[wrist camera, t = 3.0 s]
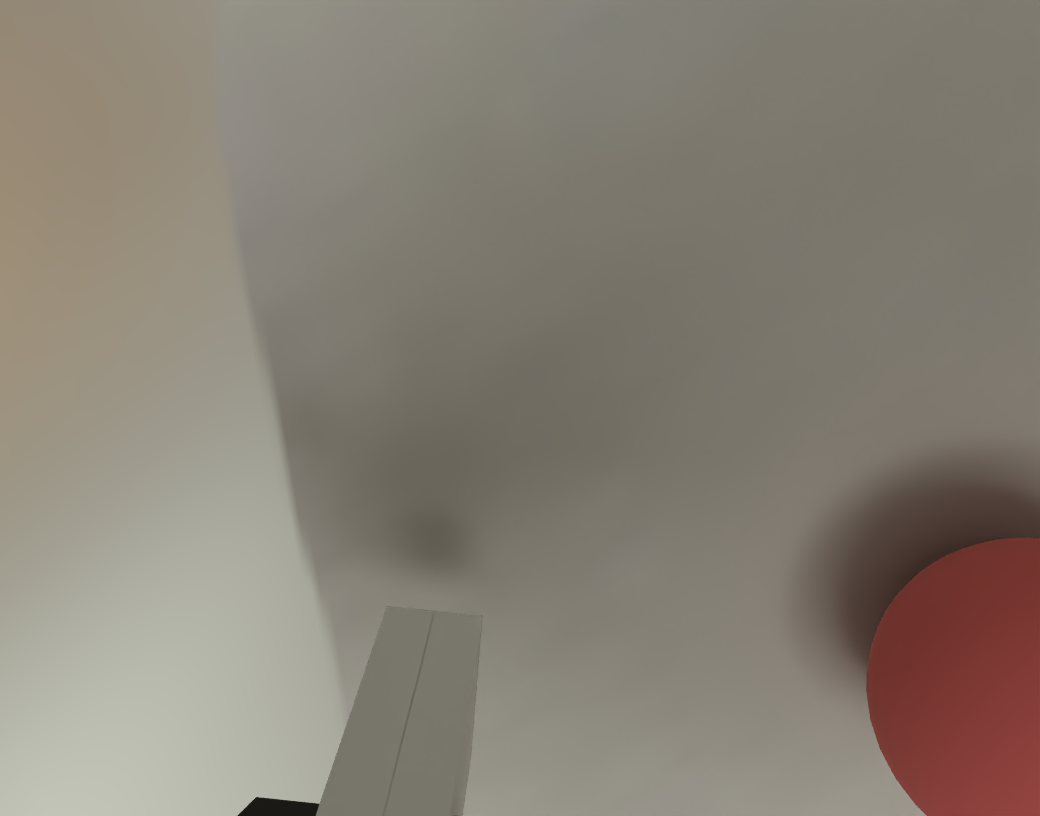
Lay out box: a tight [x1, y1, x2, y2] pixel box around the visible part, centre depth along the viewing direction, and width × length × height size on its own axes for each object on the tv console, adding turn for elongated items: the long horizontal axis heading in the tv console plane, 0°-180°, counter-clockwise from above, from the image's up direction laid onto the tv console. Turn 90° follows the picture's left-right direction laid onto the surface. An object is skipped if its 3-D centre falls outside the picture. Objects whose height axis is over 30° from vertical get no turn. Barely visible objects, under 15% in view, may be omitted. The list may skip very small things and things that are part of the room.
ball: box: [866, 537, 1040, 816], centre depth 16 cm, size 6×6×6 cm
